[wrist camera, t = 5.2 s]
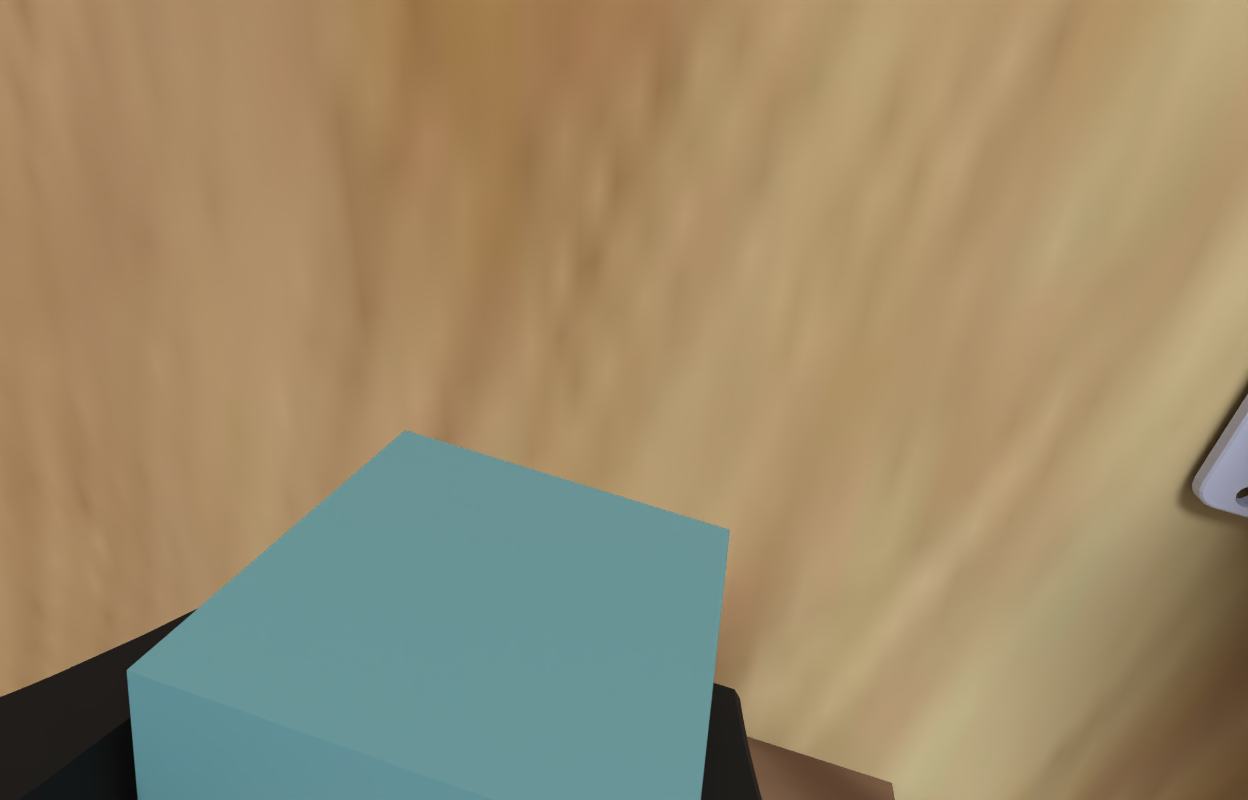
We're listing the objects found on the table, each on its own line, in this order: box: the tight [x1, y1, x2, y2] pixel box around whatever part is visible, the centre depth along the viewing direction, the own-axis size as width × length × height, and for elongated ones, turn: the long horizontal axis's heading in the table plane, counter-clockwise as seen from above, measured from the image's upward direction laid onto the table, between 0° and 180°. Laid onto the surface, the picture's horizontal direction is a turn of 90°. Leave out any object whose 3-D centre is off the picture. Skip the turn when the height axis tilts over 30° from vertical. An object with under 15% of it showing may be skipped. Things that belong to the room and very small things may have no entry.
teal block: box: [127, 430, 730, 800], centre depth 9 cm, size 5×5×5 cm
